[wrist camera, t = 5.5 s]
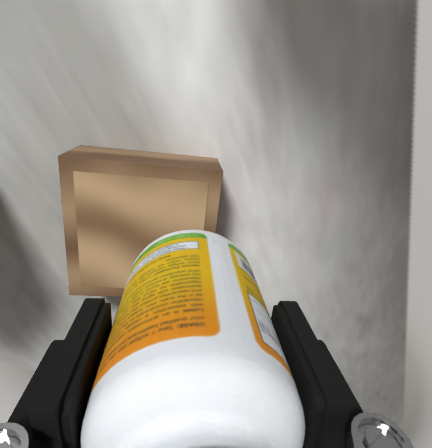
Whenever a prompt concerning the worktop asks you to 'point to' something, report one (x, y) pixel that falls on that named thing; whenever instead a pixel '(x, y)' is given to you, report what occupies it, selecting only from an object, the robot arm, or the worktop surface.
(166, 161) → the pedestal
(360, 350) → the worktop surface
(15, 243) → the worktop surface
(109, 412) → the supplement bottle
